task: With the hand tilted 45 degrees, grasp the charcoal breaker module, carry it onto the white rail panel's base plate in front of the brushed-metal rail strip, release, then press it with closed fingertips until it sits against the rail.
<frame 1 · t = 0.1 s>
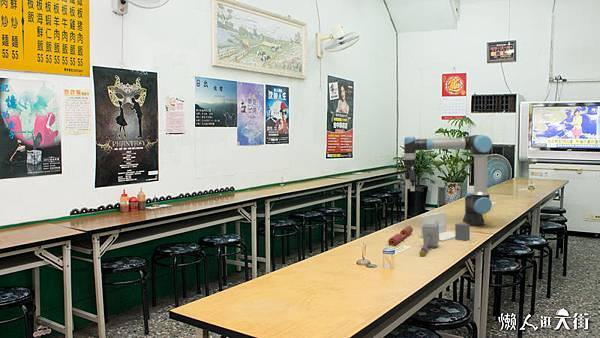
hand: (410, 189, 360), 28 cm above the table, tool pointing down, fingers open, 13 cm apart
module: (462, 239, 326), on the table
blood vessel: (401, 239, 333), on the table
grey angled piece: (427, 250, 300), on the table
rail panel: (443, 236, 337), on the table
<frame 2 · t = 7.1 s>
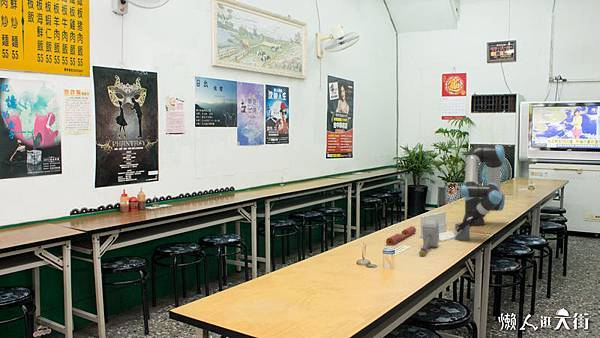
hand: (457, 233, 329), 3 cm above the table, tool tilted 45°, fingers closed on module, 5 cm apart
module: (462, 239, 326), on the table, touching gripper
when the fingers open (6 cm above the table, at t = 12.1 s): module drops 1 cm, resting on rail panel.
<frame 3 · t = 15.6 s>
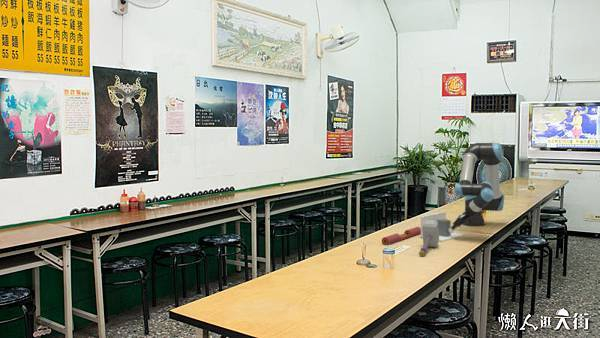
hand: (449, 231, 332), 4 cm above the table, tool tilted 45°, fingers closed
module: (443, 235, 336), point 1 cm above the table, touching gripper, rail panel
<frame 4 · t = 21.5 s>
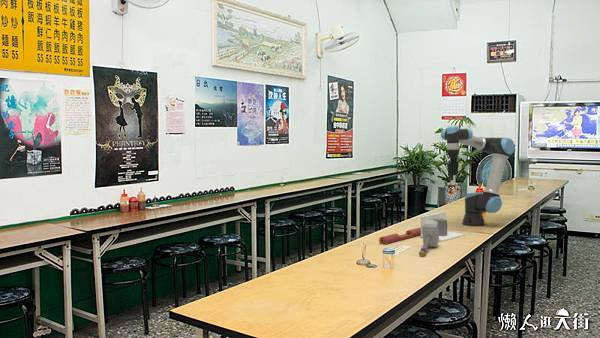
hand: (452, 184, 345), 32 cm above the table, tool pointing down, fingers closed
module: (440, 235, 338), point 1 cm above the table, touching rail panel
at the end: module 0.5 cm from the target spot on the rail panel, point 0.8 cm above the rail panel's base; module tilted 0° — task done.
